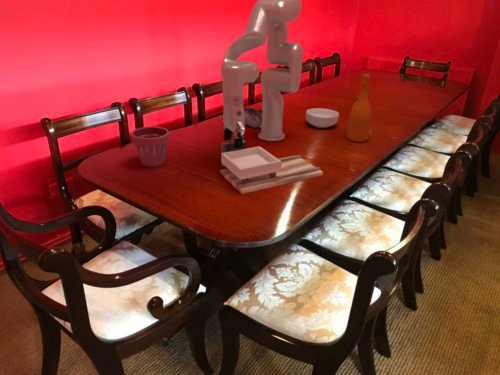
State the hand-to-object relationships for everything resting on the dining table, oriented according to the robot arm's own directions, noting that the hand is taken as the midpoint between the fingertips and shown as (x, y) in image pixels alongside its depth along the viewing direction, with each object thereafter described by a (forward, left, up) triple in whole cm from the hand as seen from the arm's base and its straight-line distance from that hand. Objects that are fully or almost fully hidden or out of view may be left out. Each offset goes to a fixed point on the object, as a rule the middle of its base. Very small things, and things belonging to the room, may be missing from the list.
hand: (233, 143), depth 148 cm
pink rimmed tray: (+14, 0, -6) cm, 16 cm away
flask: (0, 0, -9) cm, 9 cm away
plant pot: (-16, -28, -9) cm, 33 cm away
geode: (-41, +32, -9) cm, 53 cm away
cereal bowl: (-26, +62, -9) cm, 68 cm away
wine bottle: (-2, +65, -9) cm, 66 cm away
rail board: (+14, +9, -9) cm, 19 cm away
